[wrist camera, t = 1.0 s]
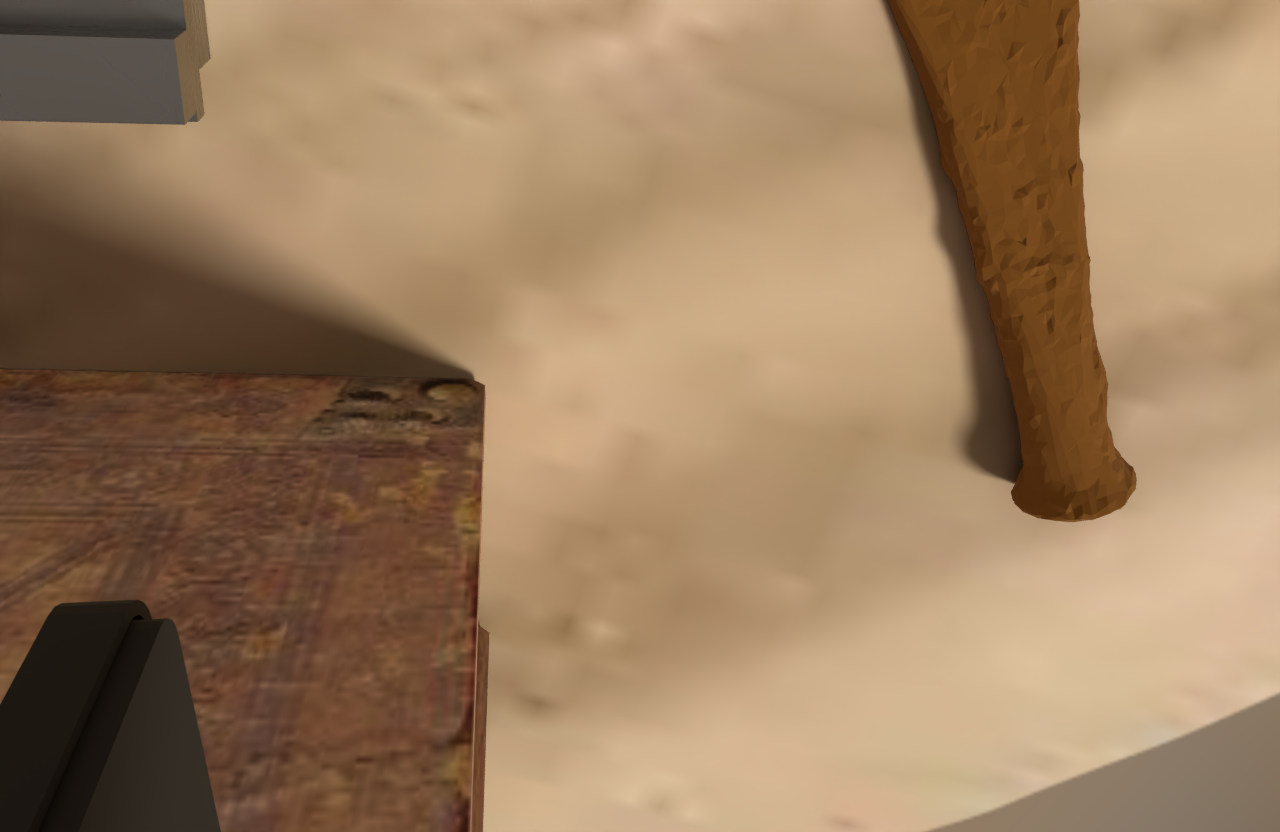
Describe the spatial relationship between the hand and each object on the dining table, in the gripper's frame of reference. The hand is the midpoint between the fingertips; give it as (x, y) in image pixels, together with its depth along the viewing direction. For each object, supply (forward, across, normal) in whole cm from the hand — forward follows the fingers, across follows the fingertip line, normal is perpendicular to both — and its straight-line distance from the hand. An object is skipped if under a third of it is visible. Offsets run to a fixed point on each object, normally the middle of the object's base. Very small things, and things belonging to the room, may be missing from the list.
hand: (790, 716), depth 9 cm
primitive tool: (+25, -11, +4) cm, 27 cm away
